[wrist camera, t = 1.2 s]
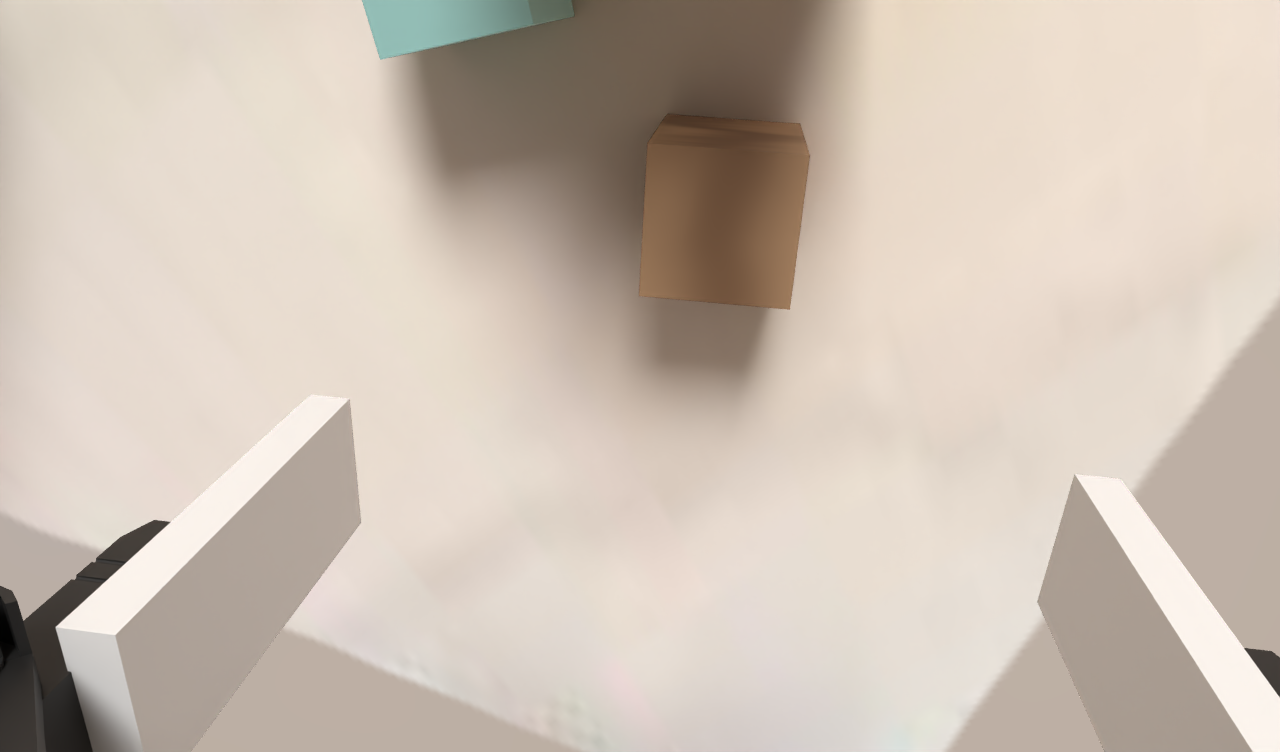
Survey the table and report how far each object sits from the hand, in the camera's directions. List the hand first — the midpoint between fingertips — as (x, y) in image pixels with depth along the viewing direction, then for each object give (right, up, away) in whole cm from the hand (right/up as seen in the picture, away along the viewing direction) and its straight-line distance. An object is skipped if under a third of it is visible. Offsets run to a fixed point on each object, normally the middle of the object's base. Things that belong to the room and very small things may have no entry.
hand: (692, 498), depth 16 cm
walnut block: (+3, +11, +25) cm, 27 cm away
